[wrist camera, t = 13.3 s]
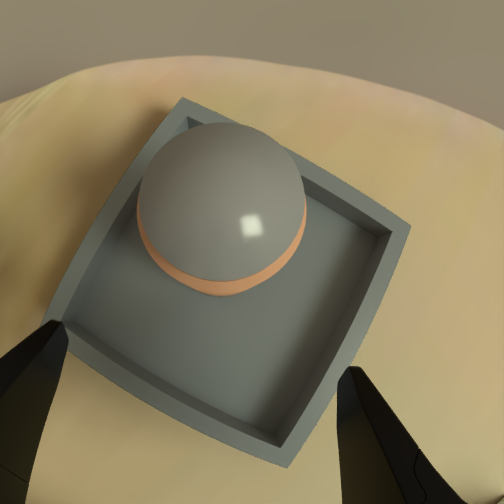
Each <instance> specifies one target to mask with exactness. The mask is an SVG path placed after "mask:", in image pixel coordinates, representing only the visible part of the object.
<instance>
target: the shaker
mask: <svg viewBox="0 0 504 504" xmlns="http://www.w3.org/2000/svg"><path fill="white" fill-rule="evenodd" d="M137 220H138V227H139V231H140V234H141V238H142V240H143V242H144V245H145V247H146V249H147V251H148V252H149V254H150V255H151V257H152V258H153V259H154V261H155V262H156V263H157V264H158V265H159V266H160V267H161V268H162V269H163V270H164V271H165V272H166V273H167V274H169V275H170V276H172V277H173V278H175V279H176V280H178V281H179V282H181V283H183V284H185V285H187V286H189V287H191V288H193V289H195V290H197V291H199V292H201V293H203V294H205V295H208V296H212V297H219V298H224V297H231V296H234V295H237V294H239V293H241V292H243V291H245V290H247V289H249V288H251V287H253V286H255V285H257V284H259V283H261V282H263V281H265V280H267V279H268V278H270V277H271V276H273V275H274V274H275V273H277V272H278V271H279V270H280V269H281V268H282V267H283V266H284V265H285V264H286V263H287V262H288V260H289V259H290V258H291V257H292V255H293V254H294V252H295V250H296V249H297V247H298V245H299V243H300V240H301V238H302V235H303V232H304V228H305V223H306V198H305V193H304V186H303V182H302V179H301V175H300V173H299V171H298V168H297V166H296V164H295V163H294V161H293V159H292V158H291V156H290V155H289V154H288V153H287V151H286V150H285V149H284V148H283V147H282V146H281V145H280V144H279V143H278V142H276V141H275V140H274V139H272V138H271V137H270V136H268V135H266V134H265V133H263V132H261V131H259V130H256V129H254V128H252V127H248V126H245V125H241V124H236V123H225V122H219V123H209V124H203V125H199V126H196V127H193V128H190V129H188V130H186V131H184V132H182V133H180V134H178V135H177V136H175V137H173V138H172V139H171V140H169V141H168V142H167V143H166V144H165V145H164V146H163V147H162V148H161V149H160V150H159V151H158V152H157V153H156V154H155V156H154V157H153V158H152V160H151V161H150V163H149V165H148V166H147V168H146V171H145V173H144V175H143V178H142V182H141V186H140V192H139V196H138V203H137Z"/></svg>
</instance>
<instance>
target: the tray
mask: <svg viewBox="0 0 504 504" xmlns="http://www.w3.org/2000/svg"><path fill="white" fill-rule="evenodd" d="M219 122H225V123H236V124H239V123H237V122H235V121H233V120H231V119H229V118H227V117H225V116H223V115H221V114H218V113H216V112H214V111H212V110H210V109H208V108H206V107H203V106H201V105H199V104H197V103H195V102H192V101H190V100H188V99H186V98H183V97H182V98H181V99H180V100H179V102H178V103H177V104H176V105H175V107H174V108H173V109H172V110H171V111H170V113H169V114H168V115H167V116H166V118H165V119H164V120H163V122H162V123H161V124H160V125H159V127H158V128H157V129H156V131H155V132H154V133H153V135H152V136H151V137H150V139H149V140H148V141H147V143H146V144H145V145H144V147H143V148H142V149H141V151H140V152H139V154H138V155H137V156H136V158H135V159H134V161H133V162H132V163H131V165H130V166H129V168H128V169H127V171H126V172H125V174H124V175H123V177H122V178H121V180H120V181H119V183H118V184H117V186H116V187H115V189H114V190H113V192H112V193H111V195H110V196H109V198H108V199H107V201H106V203H105V204H104V206H103V207H102V209H101V211H100V212H99V214H98V216H97V217H96V219H95V221H94V222H93V224H92V226H91V227H90V229H89V231H88V232H87V234H86V236H85V238H84V239H83V241H82V243H81V245H80V246H79V248H78V250H77V252H76V254H75V256H74V257H73V259H72V261H71V263H70V265H69V267H68V269H67V271H66V273H65V275H64V276H63V278H62V280H61V282H60V284H59V286H58V288H57V290H56V293H55V295H54V297H53V299H52V301H51V303H50V305H49V307H48V309H47V312H46V314H45V316H44V318H43V321H42V323H41V325H40V327H41V326H42V325H44V324H45V323H46V322H48V321H49V320H51V319H54V320H58V321H61V322H63V324H64V326H65V329H66V332H67V335H68V338H69V344H68V348H67V350H68V351H69V352H71V353H72V354H73V355H75V356H76V357H77V358H79V359H80V360H81V361H83V362H84V363H86V364H87V365H88V366H90V367H91V368H93V369H94V370H96V371H97V372H98V373H100V374H101V375H103V376H104V377H106V378H107V379H109V380H110V381H112V382H113V383H115V384H116V385H118V386H119V387H121V388H123V389H124V390H126V391H127V392H129V393H131V394H132V395H134V396H135V397H137V398H139V399H140V400H142V401H144V402H145V403H147V404H149V405H151V406H152V407H154V408H156V409H158V410H159V411H161V412H163V413H165V414H166V415H168V416H170V417H172V418H174V419H176V420H178V421H179V422H181V423H183V424H185V425H187V426H189V427H191V428H193V429H195V430H197V431H199V432H201V433H203V434H205V435H207V436H209V437H211V438H214V439H216V440H218V441H220V442H222V443H225V444H227V445H229V446H231V447H234V448H236V449H238V450H241V451H243V452H245V453H248V454H250V455H253V456H255V457H258V458H260V459H263V460H265V461H268V462H271V463H273V464H276V465H279V466H282V467H284V468H288V467H289V465H290V464H291V462H292V461H293V459H294V458H295V457H296V455H297V454H298V452H299V451H300V449H301V448H302V446H303V444H304V443H305V441H306V440H307V438H308V437H309V435H310V434H311V432H312V430H313V429H314V427H315V426H316V424H317V422H318V421H319V419H320V418H321V416H322V414H323V413H324V411H325V409H326V408H327V406H328V404H329V402H330V401H331V399H332V397H333V396H334V394H335V392H336V390H337V384H338V380H339V378H340V377H341V376H342V374H343V373H344V371H345V369H346V368H347V367H349V366H350V365H351V363H352V361H353V359H354V357H355V355H356V353H357V351H358V349H359V347H360V345H361V343H362V341H363V339H364V337H365V335H366V333H367V331H368V329H369V327H370V325H371V323H372V321H373V318H374V316H375V314H376V312H377V310H378V308H379V305H380V303H381V301H382V299H383V296H384V294H385V292H386V289H387V287H388V285H389V282H390V280H391V278H392V275H393V273H394V270H395V268H396V265H397V263H398V260H399V258H400V255H401V253H402V250H403V247H404V245H405V242H406V239H407V237H408V234H409V231H410V228H411V225H410V224H408V223H407V222H405V221H404V220H402V219H401V218H400V217H398V216H397V215H395V214H394V213H392V212H391V211H389V210H388V209H386V208H385V207H383V206H382V205H380V204H379V203H377V202H376V201H374V200H373V199H371V198H369V197H368V196H366V195H365V194H363V193H362V192H360V191H359V190H357V189H355V188H354V187H352V186H351V185H349V184H347V183H346V182H344V181H342V180H341V179H339V178H337V177H336V176H334V175H333V174H331V173H329V172H327V171H326V170H324V169H322V168H321V167H319V166H317V165H316V164H314V163H312V162H310V161H309V160H307V159H305V158H303V157H302V156H300V155H298V154H296V153H294V152H293V151H291V150H289V149H287V148H285V147H283V146H282V145H281V146H282V147H283V148H284V149H285V150H286V151H287V153H288V154H289V155H290V156H291V158H292V159H293V161H294V163H295V164H296V166H297V168H298V171H299V173H300V175H301V179H302V182H303V186H304V193H305V198H306V223H305V228H304V232H303V235H302V238H301V240H300V243H299V245H298V247H297V249H296V250H295V252H294V254H293V255H292V257H291V258H290V259H289V260H288V262H287V263H286V264H285V265H284V266H283V267H282V268H281V269H280V270H279V271H278V272H277V273H275V274H274V275H273V276H271V277H270V278H268V279H267V280H265V281H263V282H261V283H259V284H257V285H255V286H253V287H251V288H249V289H247V290H245V291H243V292H241V293H239V294H237V295H234V296H231V297H224V298H219V297H212V296H208V295H205V294H203V293H201V292H199V291H197V290H195V289H193V288H191V287H189V286H187V285H185V284H183V283H181V282H179V281H178V280H176V279H175V278H173V277H172V276H170V275H169V274H167V273H166V272H165V271H164V270H163V269H162V268H161V267H160V266H159V265H158V264H157V263H156V262H155V261H154V259H153V258H152V257H151V255H150V254H149V252H148V251H147V249H146V247H145V245H144V242H143V240H142V238H141V234H140V231H139V227H138V220H137V203H138V196H139V192H140V186H141V182H142V178H143V175H144V173H145V171H146V168H147V166H148V165H149V163H150V161H151V160H152V158H153V157H154V156H155V154H156V153H157V152H158V151H159V150H160V149H161V148H162V147H163V146H164V145H165V144H166V143H167V142H168V141H169V140H171V139H172V138H173V137H175V136H177V135H178V134H180V133H182V132H184V131H186V130H188V129H190V128H193V127H196V126H199V125H203V124H209V123H219ZM40 327H39V328H40Z"/></svg>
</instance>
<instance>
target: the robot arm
mask: <svg viewBox="0 0 504 504" xmlns="http://www.w3.org/2000/svg"><path fill="white" fill-rule="evenodd" d="M68 344H69V338H68V335H67V332H66V329H65V326H64V324H63V322H61V321H58V320H54V319H51V320H49V321H48V322H46V323H45V324H44V325H42V326H41V327H40V328H38V329H37V330H36V331H34V332H33V333H32V334H31V335H29V336H28V337H27V338H25V339H24V340H23V341H22V342H20V343H19V344H18V345H16V346H15V347H14V348H13V349H11V350H10V351H9V352H8V353H6V354H5V355H4V356H3V357H1V358H0V504H25V501H26V496H27V491H28V486H29V484H28V483H29V481H30V477H31V473H32V469H33V465H34V461H35V457H36V453H37V449H38V446H39V442H40V439H41V435H42V432H43V429H44V425H45V422H46V419H47V416H48V413H49V410H50V407H51V404H52V401H53V398H54V395H55V392H56V389H57V386H58V383H59V379H60V375H61V371H62V367H63V363H64V359H65V355H66V352H67V348H68ZM337 438H338V449H339V461H340V475H341V490H342V504H468V503H466V502H465V501H464V500H462V499H461V498H460V497H459V496H458V494H457V493H456V492H455V491H454V490H453V489H452V488H451V487H450V485H449V484H448V483H447V482H446V481H445V480H444V479H443V478H442V476H441V475H440V474H439V473H438V472H437V471H436V469H435V468H434V467H433V466H432V464H431V463H430V462H429V460H428V459H427V458H426V456H425V455H424V454H423V452H422V451H421V449H418V448H419V447H418V445H417V444H416V442H415V441H414V440H413V438H412V437H411V435H410V434H409V433H408V431H407V430H406V428H405V427H404V426H403V424H402V423H401V422H400V420H399V419H398V417H397V416H396V415H395V413H394V412H393V410H392V409H391V408H390V406H389V405H388V404H387V402H386V401H385V399H384V398H383V397H382V395H381V394H380V393H379V391H378V390H377V388H376V387H375V386H374V384H373V383H372V382H371V380H370V379H369V378H368V376H367V375H366V373H365V372H364V371H363V369H362V368H361V367H358V366H349V367H347V368H346V369H345V371H344V373H343V374H342V376H341V377H340V378H339V380H338V384H337Z"/></svg>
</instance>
